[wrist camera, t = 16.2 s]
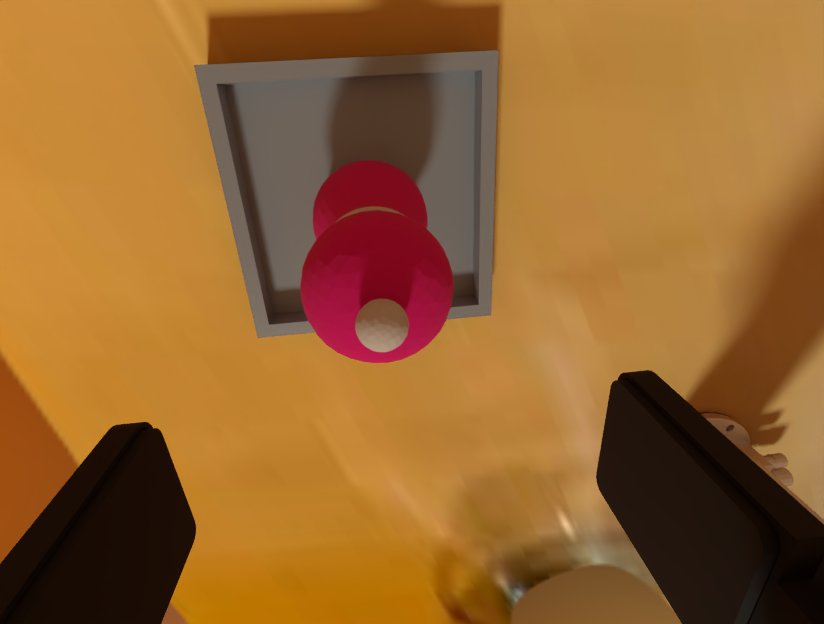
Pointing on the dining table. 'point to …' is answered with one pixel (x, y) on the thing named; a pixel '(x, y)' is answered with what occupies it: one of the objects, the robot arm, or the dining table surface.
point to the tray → (353, 160)
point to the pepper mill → (374, 266)
